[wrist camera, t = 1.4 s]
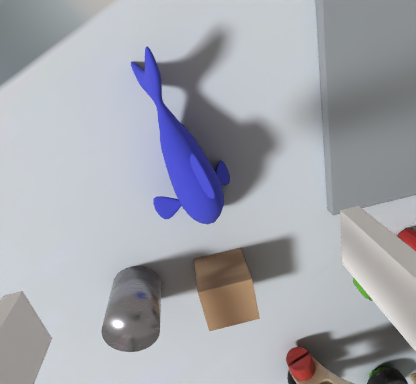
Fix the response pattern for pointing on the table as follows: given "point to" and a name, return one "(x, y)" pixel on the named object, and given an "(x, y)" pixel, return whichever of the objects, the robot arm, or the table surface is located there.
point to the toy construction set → (326, 380)
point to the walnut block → (225, 289)
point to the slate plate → (368, 100)
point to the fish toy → (183, 158)
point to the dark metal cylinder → (133, 310)
